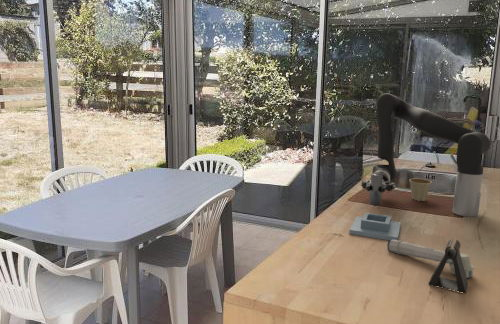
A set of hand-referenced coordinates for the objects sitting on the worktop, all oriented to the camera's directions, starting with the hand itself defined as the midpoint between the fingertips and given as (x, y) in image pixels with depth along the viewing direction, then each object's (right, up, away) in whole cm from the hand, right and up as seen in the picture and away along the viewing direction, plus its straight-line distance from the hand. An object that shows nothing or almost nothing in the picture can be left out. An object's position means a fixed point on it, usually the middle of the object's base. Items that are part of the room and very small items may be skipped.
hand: (375, 189), depth 165 cm
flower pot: (+28, -7, +28) cm, 40 cm away
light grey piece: (+5, -20, -38) cm, 43 cm away
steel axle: (+1, -6, +4) cm, 7 cm away
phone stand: (+5, -23, -51) cm, 56 cm away
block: (-3, -14, -11) cm, 18 cm away
